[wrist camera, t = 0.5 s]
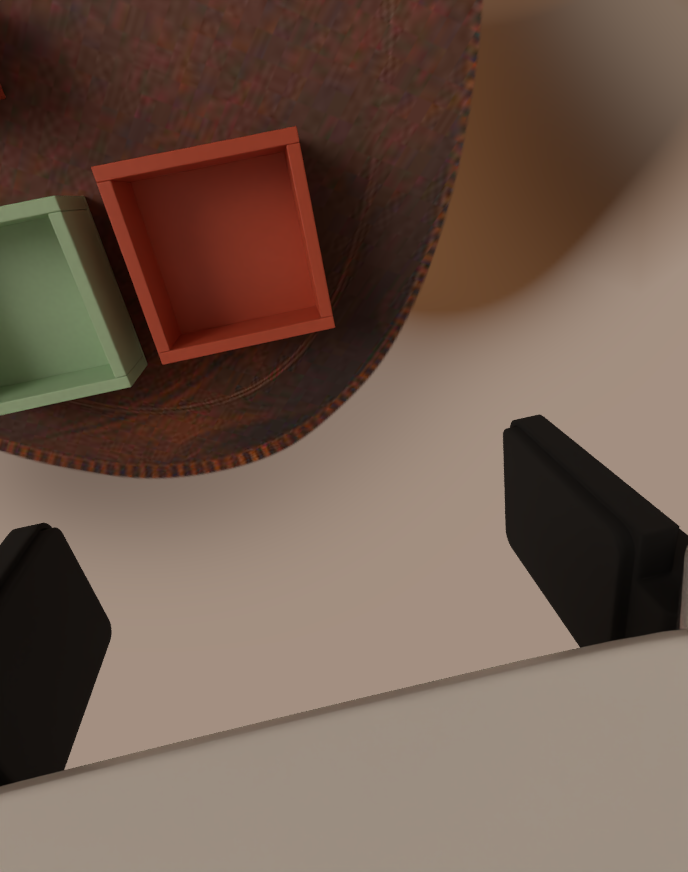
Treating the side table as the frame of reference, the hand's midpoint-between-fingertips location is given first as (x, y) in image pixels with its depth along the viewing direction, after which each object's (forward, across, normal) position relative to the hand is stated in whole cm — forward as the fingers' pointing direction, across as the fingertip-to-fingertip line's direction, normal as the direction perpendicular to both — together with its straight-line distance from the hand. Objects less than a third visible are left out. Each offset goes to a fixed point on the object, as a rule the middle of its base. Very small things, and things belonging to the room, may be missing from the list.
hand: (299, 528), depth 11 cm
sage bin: (+29, +17, -2) cm, 34 cm away
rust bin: (+29, +3, -4) cm, 29 cm away
